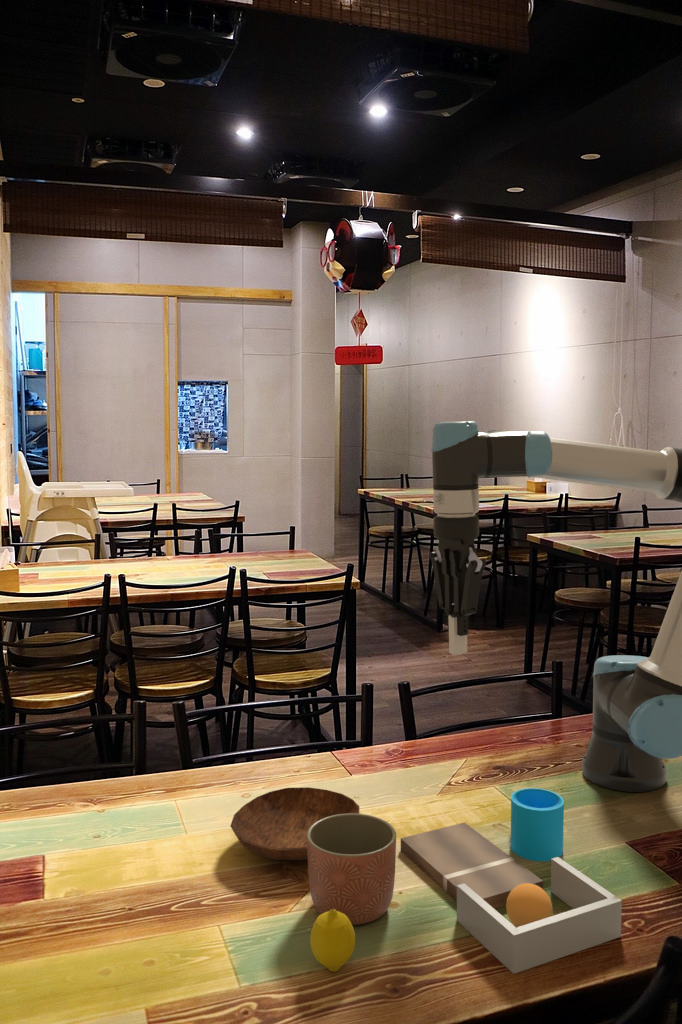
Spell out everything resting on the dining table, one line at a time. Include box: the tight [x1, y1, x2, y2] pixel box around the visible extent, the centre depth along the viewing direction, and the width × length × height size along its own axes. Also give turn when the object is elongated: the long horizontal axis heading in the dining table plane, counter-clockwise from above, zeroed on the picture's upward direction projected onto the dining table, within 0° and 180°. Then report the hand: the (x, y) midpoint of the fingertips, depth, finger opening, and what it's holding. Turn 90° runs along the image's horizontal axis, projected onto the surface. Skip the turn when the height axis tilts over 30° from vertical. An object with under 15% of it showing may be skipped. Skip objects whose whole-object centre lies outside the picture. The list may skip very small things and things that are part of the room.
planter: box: [307, 813, 397, 926], centre depth 118 cm, size 12×12×11 cm
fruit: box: [309, 908, 356, 973], centre depth 105 cm, size 6×6×8 cm
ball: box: [505, 883, 553, 928], centre depth 113 cm, size 6×6×6 cm
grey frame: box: [456, 857, 623, 975], centre depth 113 cm, size 17×13×5 cm
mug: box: [510, 787, 565, 862], centre depth 136 cm, size 12×8×8 cm
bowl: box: [230, 786, 360, 861], centre depth 136 cm, size 20×22×5 cm
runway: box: [400, 822, 544, 910], centre depth 128 cm, size 12×20×2 cm, turn 25°
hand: (458, 652), depth 144 cm, fingers closed
